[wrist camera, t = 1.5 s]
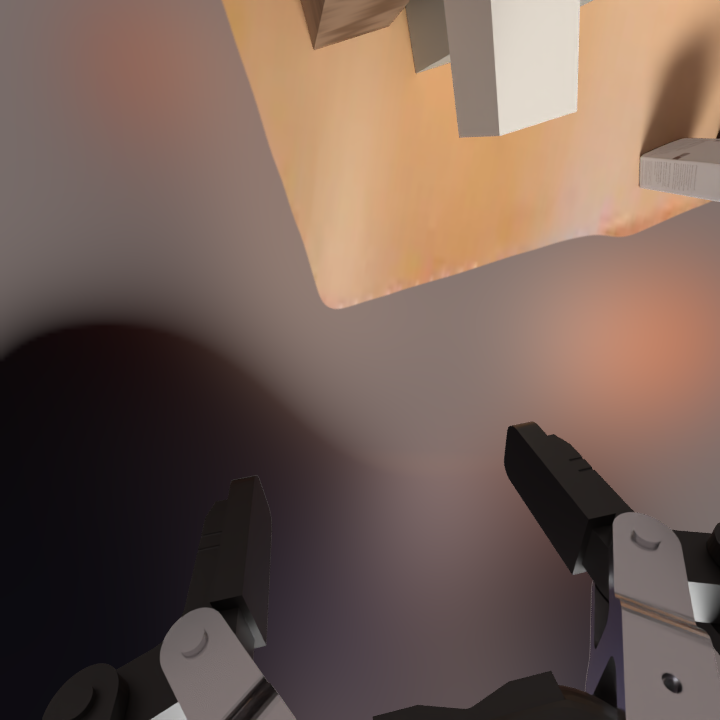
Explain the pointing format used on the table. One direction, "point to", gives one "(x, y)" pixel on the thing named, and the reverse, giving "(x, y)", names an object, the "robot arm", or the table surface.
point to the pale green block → (430, 33)
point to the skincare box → (683, 168)
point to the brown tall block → (347, 18)
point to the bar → (512, 62)
